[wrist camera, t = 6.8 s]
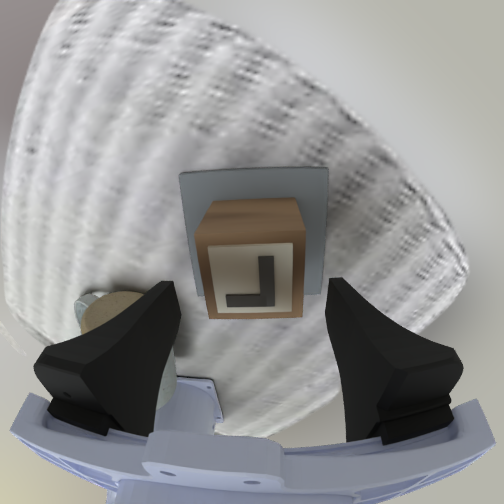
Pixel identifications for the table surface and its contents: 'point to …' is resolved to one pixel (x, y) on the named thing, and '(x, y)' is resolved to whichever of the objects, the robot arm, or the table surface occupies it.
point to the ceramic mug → (107, 307)
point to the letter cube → (252, 258)
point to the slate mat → (256, 187)
